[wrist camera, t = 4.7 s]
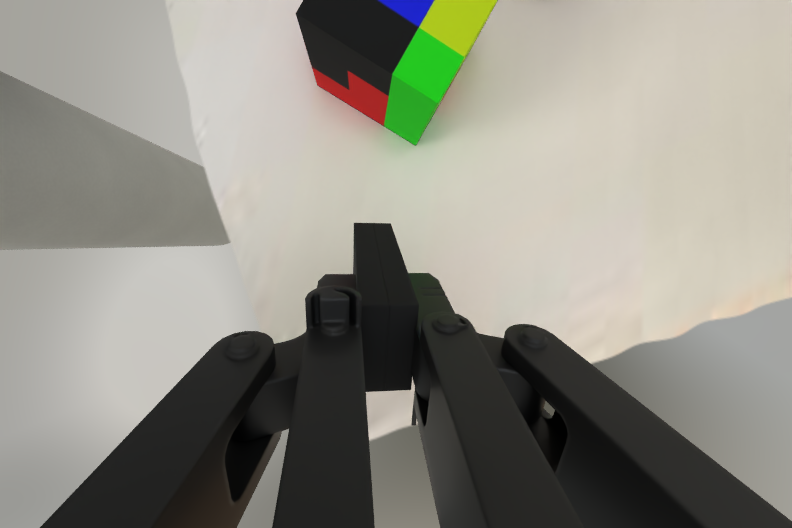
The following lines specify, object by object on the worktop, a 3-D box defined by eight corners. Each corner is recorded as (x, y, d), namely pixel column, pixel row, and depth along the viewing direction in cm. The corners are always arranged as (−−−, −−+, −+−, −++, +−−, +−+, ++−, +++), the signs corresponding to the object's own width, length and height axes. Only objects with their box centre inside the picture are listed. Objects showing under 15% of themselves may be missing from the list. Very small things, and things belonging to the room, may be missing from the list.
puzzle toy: (374, -15, 32) (378, -133, 22) (471, 48, 33) (517, -36, 23) (317, 85, 32) (295, 13, 22) (415, 145, 33) (437, 103, 23)
